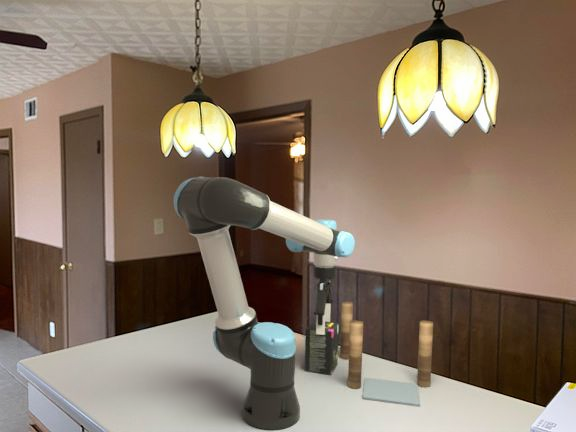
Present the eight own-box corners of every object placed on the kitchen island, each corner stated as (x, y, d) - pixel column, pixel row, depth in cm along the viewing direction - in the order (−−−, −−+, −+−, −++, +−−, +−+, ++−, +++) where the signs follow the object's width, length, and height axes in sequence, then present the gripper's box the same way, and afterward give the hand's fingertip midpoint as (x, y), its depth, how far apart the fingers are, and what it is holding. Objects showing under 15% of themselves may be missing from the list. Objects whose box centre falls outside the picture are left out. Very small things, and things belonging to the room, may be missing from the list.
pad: (420, 406, 125) (420, 404, 125) (362, 399, 128) (362, 397, 128) (417, 385, 138) (417, 383, 138) (365, 379, 142) (365, 377, 142)
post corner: (360, 389, 134) (362, 324, 133) (347, 388, 135) (349, 323, 134) (361, 384, 138) (363, 321, 137) (348, 382, 139) (350, 319, 138)
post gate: (350, 360, 158) (352, 304, 157) (339, 358, 159) (341, 303, 157) (351, 356, 162) (353, 302, 160) (340, 354, 162) (342, 301, 161)
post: (430, 388, 136) (433, 324, 135) (417, 386, 137) (420, 323, 136) (429, 383, 140) (432, 321, 139) (416, 381, 141) (419, 319, 140)
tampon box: (331, 375, 144) (332, 331, 143) (303, 371, 147) (305, 328, 146) (338, 363, 154) (339, 322, 153) (312, 359, 157) (313, 319, 156)
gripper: (331, 273, 135) (329, 341, 137) (340, 260, 160) (338, 318, 161) (307, 271, 137) (305, 338, 139) (319, 259, 161) (318, 316, 163)
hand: (323, 327), depth 150 cm, fingers open, 13 cm apart
